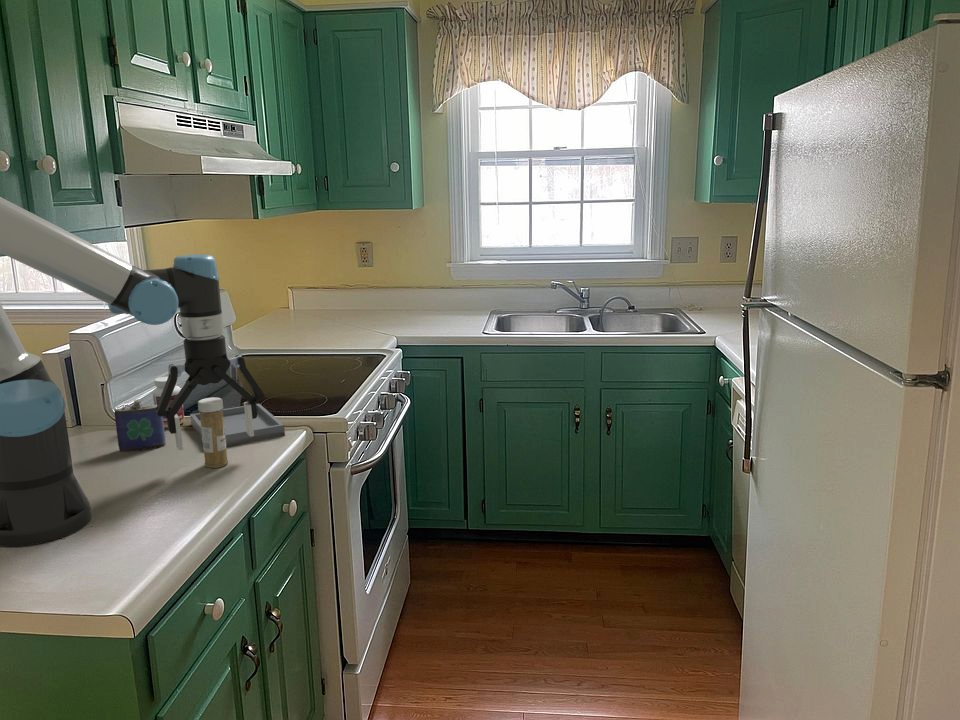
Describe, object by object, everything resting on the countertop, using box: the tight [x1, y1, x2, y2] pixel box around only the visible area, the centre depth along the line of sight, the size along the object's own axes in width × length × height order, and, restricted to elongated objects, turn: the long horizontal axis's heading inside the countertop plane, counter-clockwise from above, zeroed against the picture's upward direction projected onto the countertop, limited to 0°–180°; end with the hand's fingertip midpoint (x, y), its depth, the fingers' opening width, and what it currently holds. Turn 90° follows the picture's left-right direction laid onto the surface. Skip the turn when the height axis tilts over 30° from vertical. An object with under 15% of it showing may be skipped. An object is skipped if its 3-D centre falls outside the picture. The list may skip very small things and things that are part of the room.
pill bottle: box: [152, 376, 185, 429], centre depth 176 cm, size 6×6×11 cm
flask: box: [114, 399, 167, 453], centre depth 160 cm, size 9×3×11 cm, turn 112°
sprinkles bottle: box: [197, 397, 229, 469], centre depth 149 cm, size 5×5×13 cm
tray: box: [189, 403, 286, 447], centre depth 172 cm, size 16×20×2 cm
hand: (215, 441), depth 150 cm, fingers open, 13 cm apart
